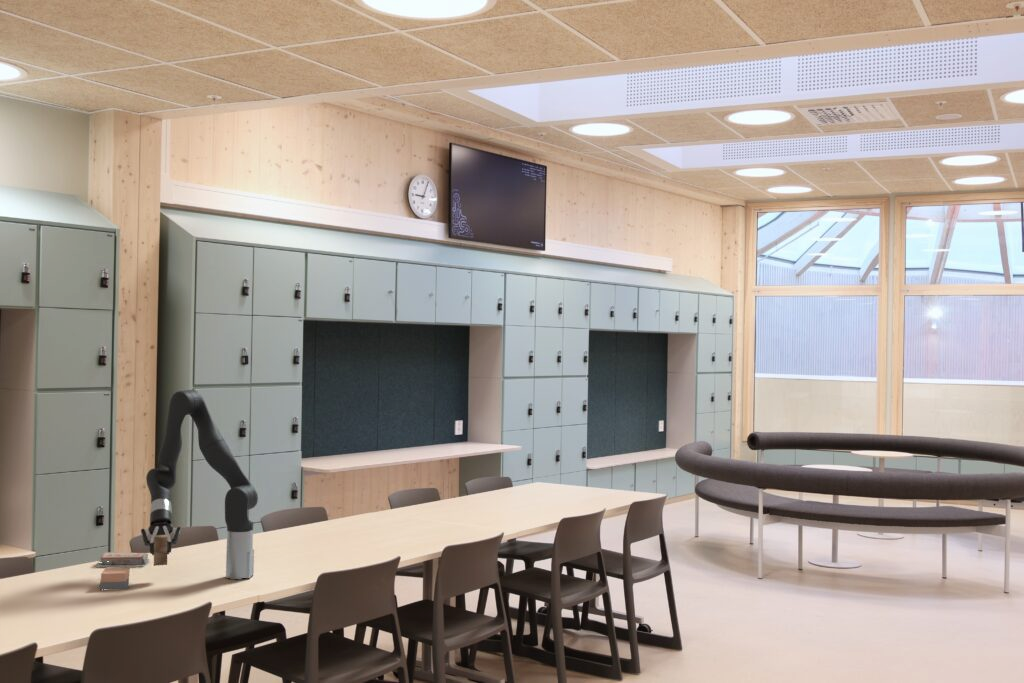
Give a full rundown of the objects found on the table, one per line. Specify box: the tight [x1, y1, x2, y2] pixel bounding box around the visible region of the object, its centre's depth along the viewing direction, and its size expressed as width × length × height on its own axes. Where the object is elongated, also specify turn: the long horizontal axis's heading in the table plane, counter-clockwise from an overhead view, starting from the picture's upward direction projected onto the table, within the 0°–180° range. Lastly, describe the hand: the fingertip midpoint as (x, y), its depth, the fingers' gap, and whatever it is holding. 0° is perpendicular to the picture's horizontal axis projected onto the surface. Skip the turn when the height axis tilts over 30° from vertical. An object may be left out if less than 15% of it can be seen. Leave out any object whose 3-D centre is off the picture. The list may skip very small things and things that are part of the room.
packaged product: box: [93, 552, 150, 568], centre depth 372 cm, size 18×5×10 cm
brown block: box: [153, 535, 168, 566], centre depth 347 cm, size 4×4×10 cm
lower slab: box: [99, 577, 130, 591], centre depth 338 cm, size 9×9×3 cm
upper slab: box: [100, 568, 131, 582], centre depth 338 cm, size 8×8×3 cm
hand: (160, 553), depth 345 cm, fingers closed on brown block, 4 cm apart
